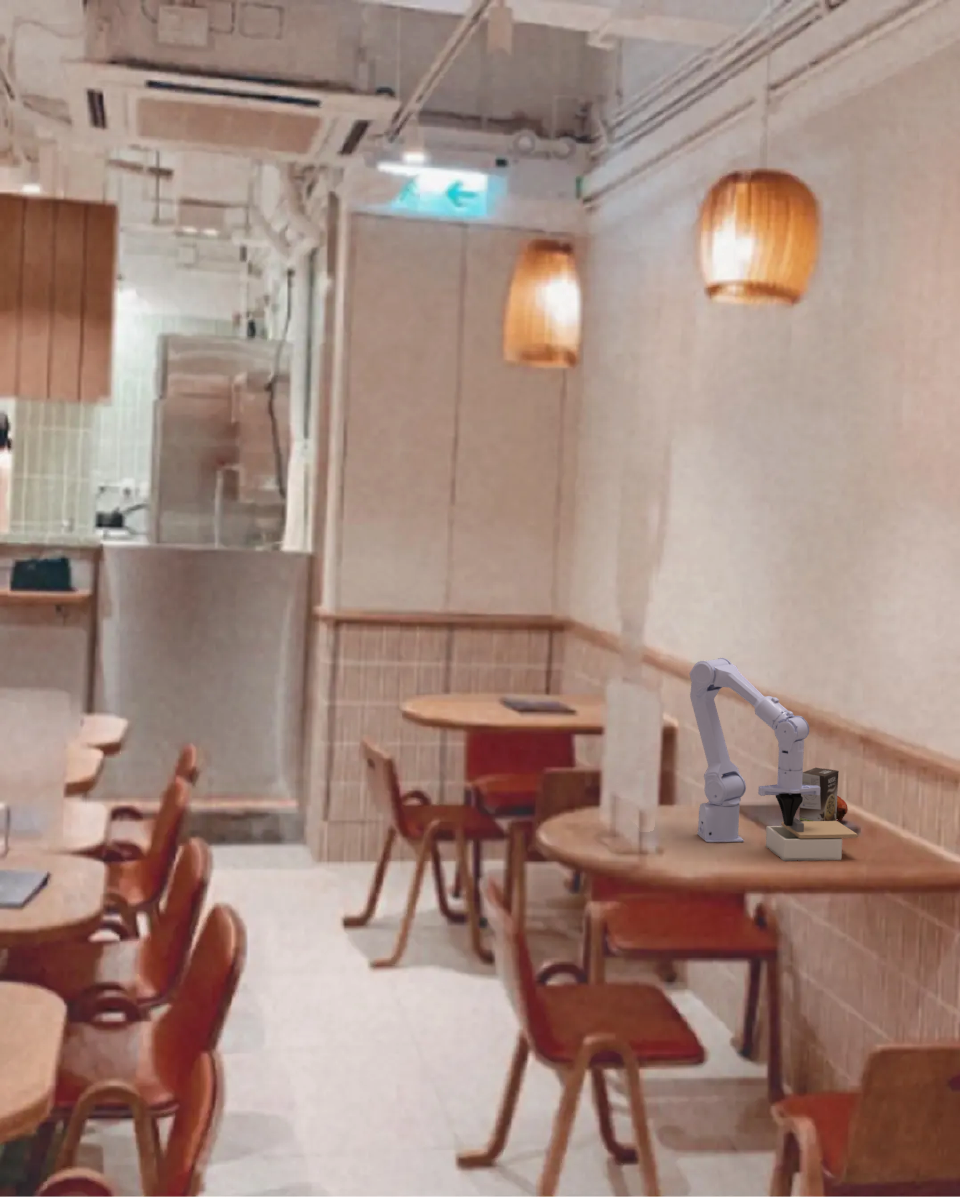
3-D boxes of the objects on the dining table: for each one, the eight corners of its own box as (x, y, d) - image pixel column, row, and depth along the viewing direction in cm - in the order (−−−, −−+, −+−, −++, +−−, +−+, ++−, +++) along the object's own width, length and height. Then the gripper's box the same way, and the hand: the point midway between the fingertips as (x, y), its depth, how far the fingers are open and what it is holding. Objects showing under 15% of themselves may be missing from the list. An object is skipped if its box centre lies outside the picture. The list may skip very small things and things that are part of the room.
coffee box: (821, 840, 336) (825, 776, 335) (797, 835, 340) (800, 772, 339) (836, 833, 344) (839, 770, 342) (812, 828, 347) (815, 766, 346)
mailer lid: (800, 838, 318) (800, 826, 317) (781, 824, 330) (781, 813, 329) (857, 837, 320) (858, 825, 320) (836, 824, 332) (837, 812, 331)
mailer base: (783, 860, 318) (784, 839, 317) (765, 846, 330) (766, 826, 329) (841, 859, 320) (842, 838, 319) (821, 845, 332) (822, 825, 331)
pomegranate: (849, 833, 353) (844, 802, 360) (850, 815, 348) (845, 784, 355) (820, 834, 354) (815, 803, 361) (820, 816, 349) (816, 786, 356)
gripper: (766, 772, 317) (764, 829, 318) (826, 771, 319) (823, 828, 320) (756, 765, 324) (753, 821, 325) (814, 765, 326) (812, 821, 327)
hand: (787, 824), depth 323 cm, fingers closed
